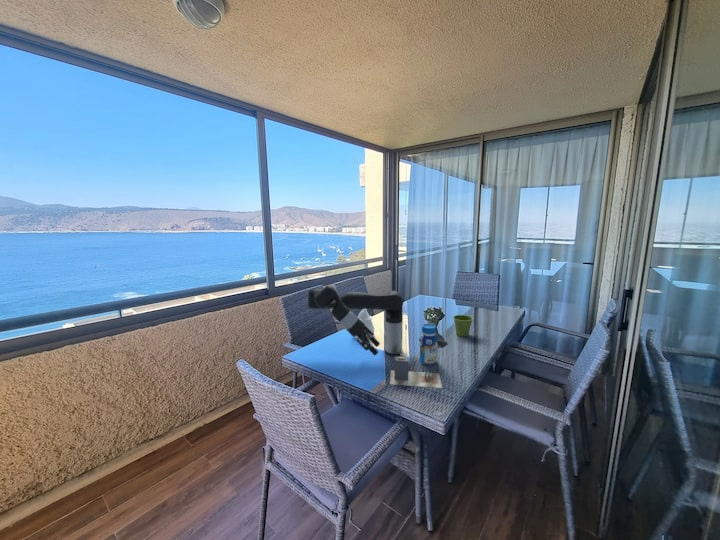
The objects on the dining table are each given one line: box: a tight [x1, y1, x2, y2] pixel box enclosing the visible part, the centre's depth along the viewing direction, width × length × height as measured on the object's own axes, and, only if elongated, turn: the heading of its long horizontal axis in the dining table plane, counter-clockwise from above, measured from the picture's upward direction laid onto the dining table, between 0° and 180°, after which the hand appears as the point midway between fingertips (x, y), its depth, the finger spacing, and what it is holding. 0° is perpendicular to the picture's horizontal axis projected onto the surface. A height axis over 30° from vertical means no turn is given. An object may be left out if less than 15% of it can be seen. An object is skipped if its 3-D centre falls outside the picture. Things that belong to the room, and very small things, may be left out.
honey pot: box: [354, 309, 375, 339], centre depth 180 cm, size 13×13×18 cm
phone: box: [418, 338, 448, 348], centre depth 171 cm, size 8×1×15 cm
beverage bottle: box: [419, 323, 438, 366], centre depth 142 cm, size 8×8×20 cm
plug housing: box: [394, 356, 410, 380], centre depth 128 cm, size 6×4×10 cm, turn 82°
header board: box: [389, 369, 443, 389], centre depth 128 cm, size 22×12×4 cm, turn 82°
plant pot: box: [452, 314, 474, 338], centre depth 180 cm, size 12×12×11 cm
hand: (377, 349), depth 128 cm, fingers open, 8 cm apart
